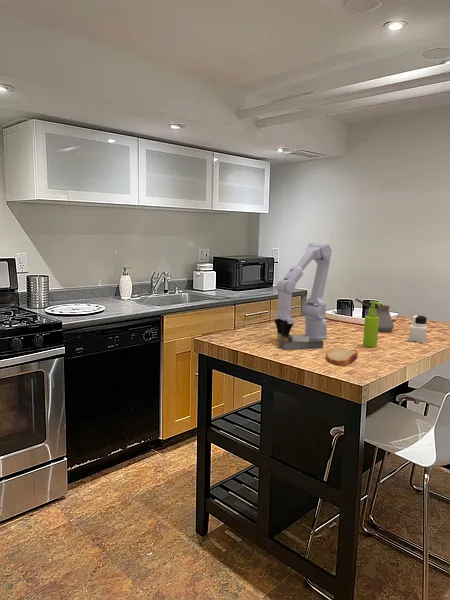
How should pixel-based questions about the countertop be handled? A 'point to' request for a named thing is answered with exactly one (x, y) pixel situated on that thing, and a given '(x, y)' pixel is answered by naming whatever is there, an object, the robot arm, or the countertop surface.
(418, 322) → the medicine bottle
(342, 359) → the bread slice
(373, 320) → the soap dispenser
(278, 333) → the brushed gold cube
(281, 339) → the grey piece
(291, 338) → the steel lever
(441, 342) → the countertop surface
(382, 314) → the coffee pot
